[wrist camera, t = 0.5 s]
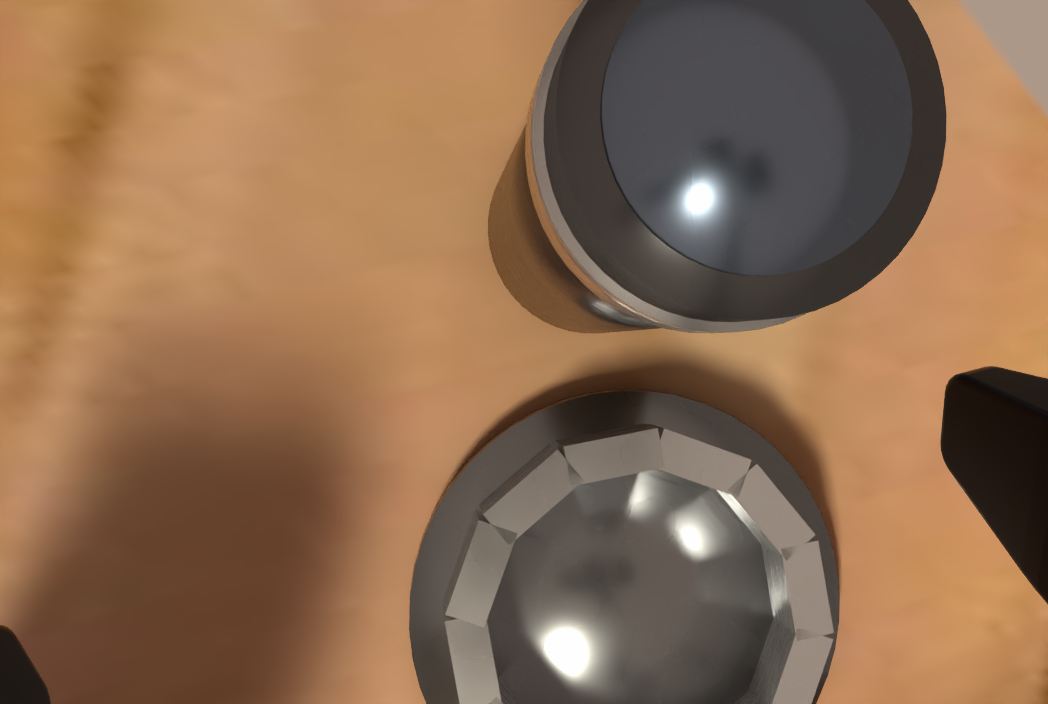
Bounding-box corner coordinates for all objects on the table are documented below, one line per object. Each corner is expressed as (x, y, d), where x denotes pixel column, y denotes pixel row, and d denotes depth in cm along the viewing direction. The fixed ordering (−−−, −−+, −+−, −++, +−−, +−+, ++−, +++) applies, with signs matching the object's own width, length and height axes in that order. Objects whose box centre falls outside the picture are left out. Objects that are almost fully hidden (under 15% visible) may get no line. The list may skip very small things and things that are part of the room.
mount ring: (749, 868, 24) (779, 915, 22) (346, 747, 23) (339, 786, 21) (884, 469, 24) (925, 480, 22) (496, 329, 23) (504, 327, 21)
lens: (656, 369, 24) (883, 390, 12) (451, 294, 23) (483, 240, 11) (726, 166, 24) (1017, -4, 12) (526, 86, 23) (634, -174, 12)
